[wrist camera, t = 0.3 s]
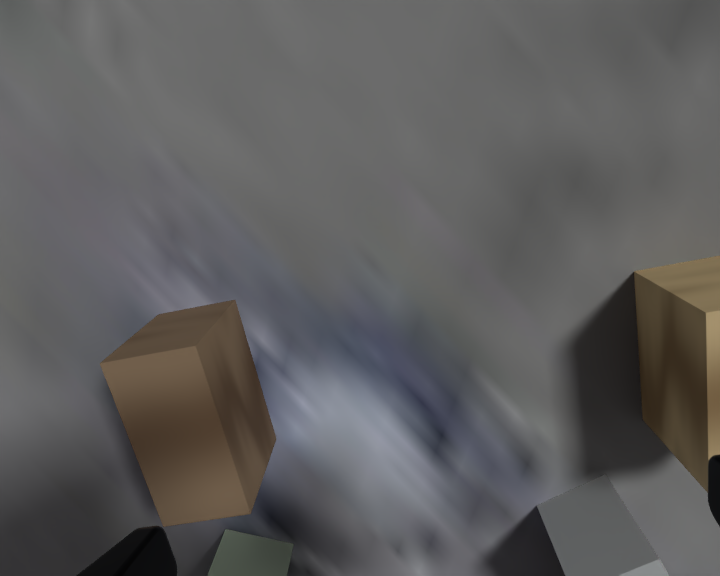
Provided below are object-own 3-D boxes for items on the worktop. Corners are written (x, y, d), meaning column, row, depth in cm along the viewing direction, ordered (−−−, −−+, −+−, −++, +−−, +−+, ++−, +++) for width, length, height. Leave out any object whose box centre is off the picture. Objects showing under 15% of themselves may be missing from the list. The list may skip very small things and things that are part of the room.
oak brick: (723, 405, 23) (813, 479, 18) (641, 418, 23) (709, 494, 18) (722, 254, 21) (823, 292, 16) (633, 270, 21) (705, 312, 16)
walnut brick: (276, 437, 24) (250, 513, 19) (206, 449, 25) (163, 526, 20) (235, 298, 22) (195, 345, 17) (159, 313, 23) (99, 363, 18)
